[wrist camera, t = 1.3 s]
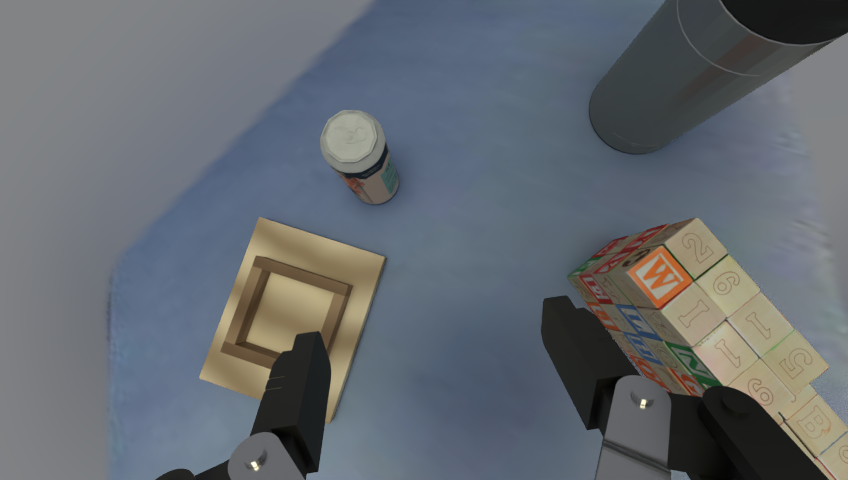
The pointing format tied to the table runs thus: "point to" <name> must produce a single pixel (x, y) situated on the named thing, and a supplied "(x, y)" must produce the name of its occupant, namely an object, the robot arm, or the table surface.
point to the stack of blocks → (710, 331)
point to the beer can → (360, 155)
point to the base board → (292, 307)
